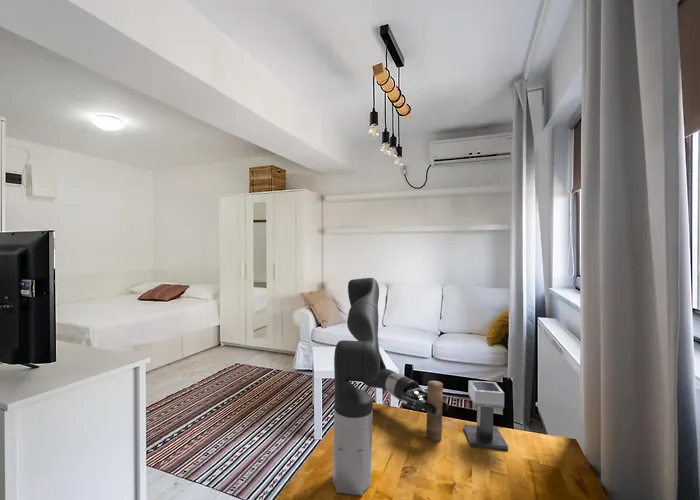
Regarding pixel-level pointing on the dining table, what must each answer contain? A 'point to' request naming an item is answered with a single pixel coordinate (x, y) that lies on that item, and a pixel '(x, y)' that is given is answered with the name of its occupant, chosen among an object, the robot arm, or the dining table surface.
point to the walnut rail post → (436, 420)
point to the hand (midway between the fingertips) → (441, 408)
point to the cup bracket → (485, 415)
